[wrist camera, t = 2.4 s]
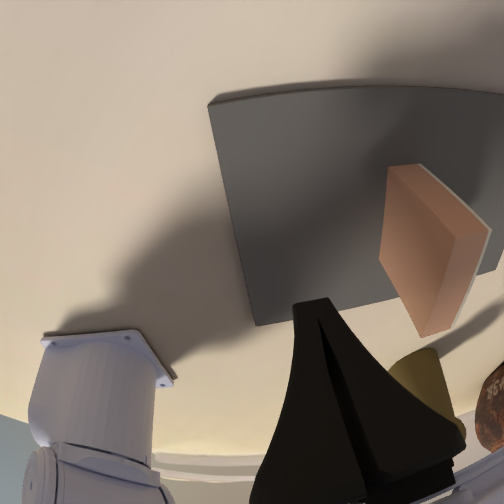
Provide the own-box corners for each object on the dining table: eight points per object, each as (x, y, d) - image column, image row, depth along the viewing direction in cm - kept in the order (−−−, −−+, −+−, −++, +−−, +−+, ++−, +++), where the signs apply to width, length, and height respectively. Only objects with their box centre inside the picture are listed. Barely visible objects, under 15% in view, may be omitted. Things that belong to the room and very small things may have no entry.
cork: (375, 377, 29) (405, 472, 21) (419, 344, 26) (460, 443, 18) (405, 382, 31) (434, 463, 23) (445, 352, 28) (482, 436, 20)
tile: (378, 259, 18) (421, 337, 13) (387, 166, 14) (455, 237, 10) (407, 253, 18) (453, 327, 13) (420, 163, 14) (492, 229, 9)
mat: (254, 319, 21) (255, 326, 21) (207, 104, 12) (207, 106, 12) (491, 265, 21) (495, 269, 20) (531, 100, 12) (537, 103, 11)
